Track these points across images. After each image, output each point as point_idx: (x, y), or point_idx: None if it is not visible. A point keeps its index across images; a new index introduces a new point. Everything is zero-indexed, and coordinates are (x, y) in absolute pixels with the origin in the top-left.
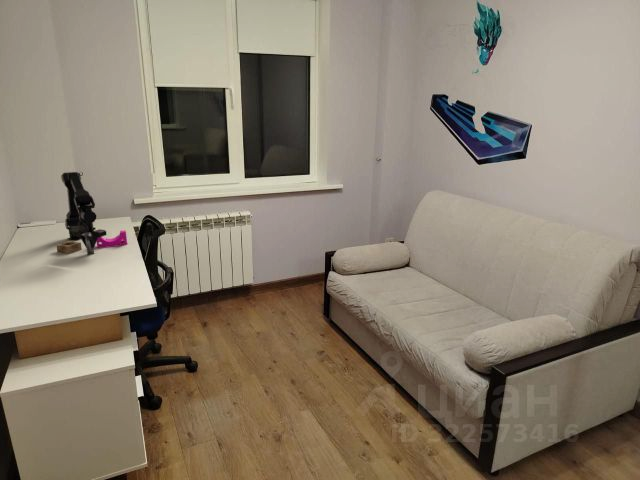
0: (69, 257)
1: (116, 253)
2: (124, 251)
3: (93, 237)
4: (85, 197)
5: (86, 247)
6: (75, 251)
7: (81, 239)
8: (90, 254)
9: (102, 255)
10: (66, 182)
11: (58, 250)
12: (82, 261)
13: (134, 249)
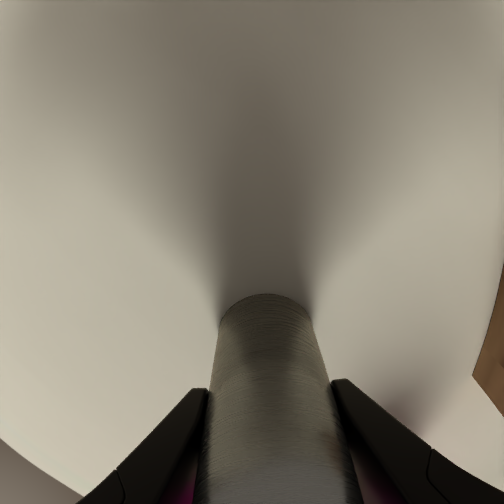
0: (422, 88)
1: (46, 409)
2: (58, 450)
3: None
4: None
5: (310, 374)
6: (498, 304)
7: (488, 489)
8: (233, 308)
9: (74, 335)
10: None
11: None
12: (80, 38)
13: (60, 479)
